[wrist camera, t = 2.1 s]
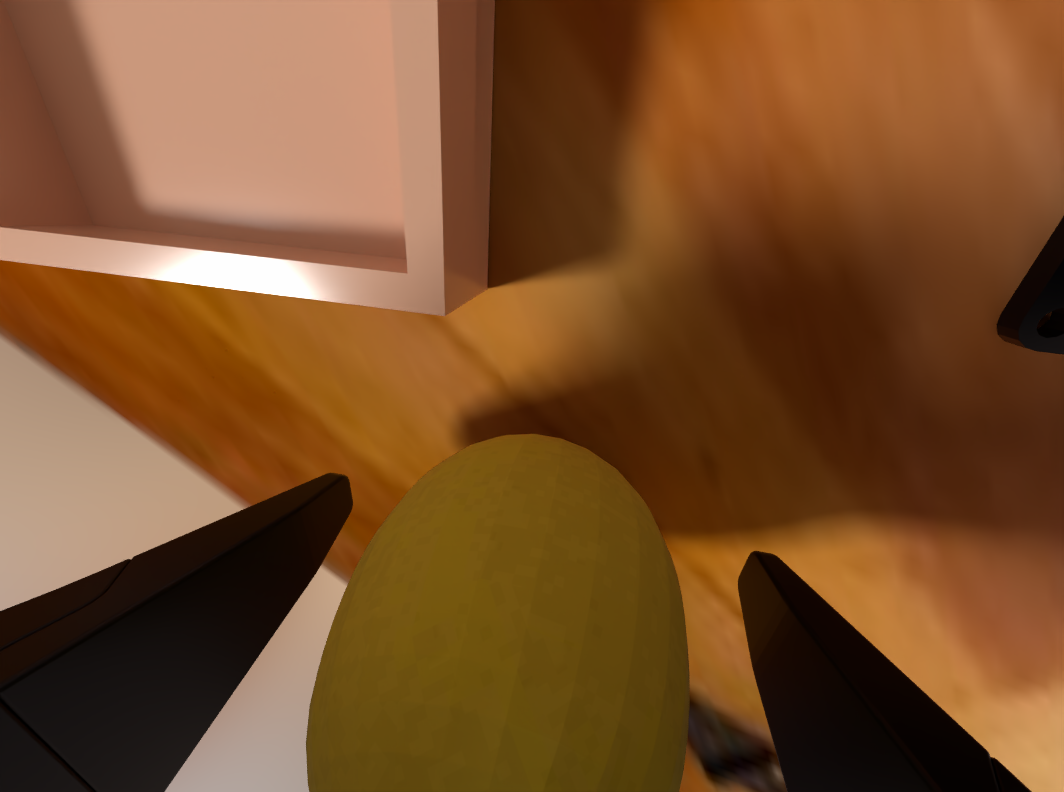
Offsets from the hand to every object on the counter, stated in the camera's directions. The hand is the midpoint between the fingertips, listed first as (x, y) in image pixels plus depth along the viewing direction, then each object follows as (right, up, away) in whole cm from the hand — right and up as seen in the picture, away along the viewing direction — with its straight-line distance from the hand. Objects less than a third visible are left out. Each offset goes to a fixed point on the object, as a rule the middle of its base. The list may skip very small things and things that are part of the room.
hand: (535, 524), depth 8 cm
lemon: (0, +1, +2) cm, 2 cm away
